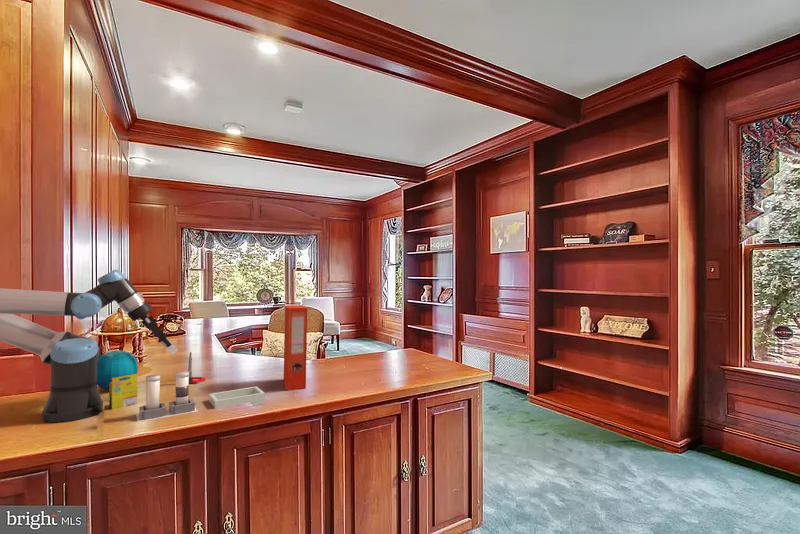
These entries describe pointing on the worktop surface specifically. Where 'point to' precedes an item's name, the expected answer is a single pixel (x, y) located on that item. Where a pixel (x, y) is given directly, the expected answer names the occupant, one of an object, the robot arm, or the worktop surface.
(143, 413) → the block
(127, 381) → the crayon box
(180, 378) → the cylinder
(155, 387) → the cylinder
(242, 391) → the parts tray
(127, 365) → the decorative orb
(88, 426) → the worktop surface
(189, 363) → the tow hook
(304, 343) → the file binder
